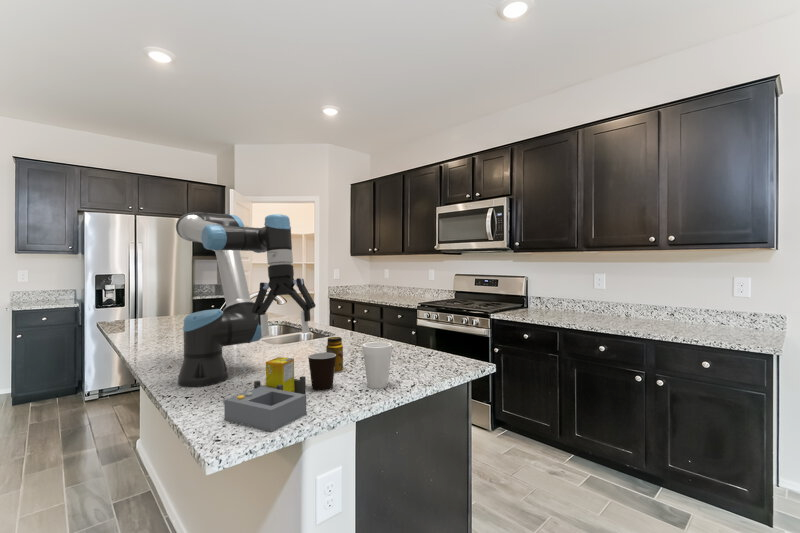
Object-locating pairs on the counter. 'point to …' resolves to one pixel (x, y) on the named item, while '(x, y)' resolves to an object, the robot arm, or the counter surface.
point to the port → (265, 408)
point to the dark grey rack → (298, 385)
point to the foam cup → (377, 363)
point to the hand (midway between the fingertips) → (285, 334)
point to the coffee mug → (322, 370)
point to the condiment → (336, 352)
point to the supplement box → (280, 373)
